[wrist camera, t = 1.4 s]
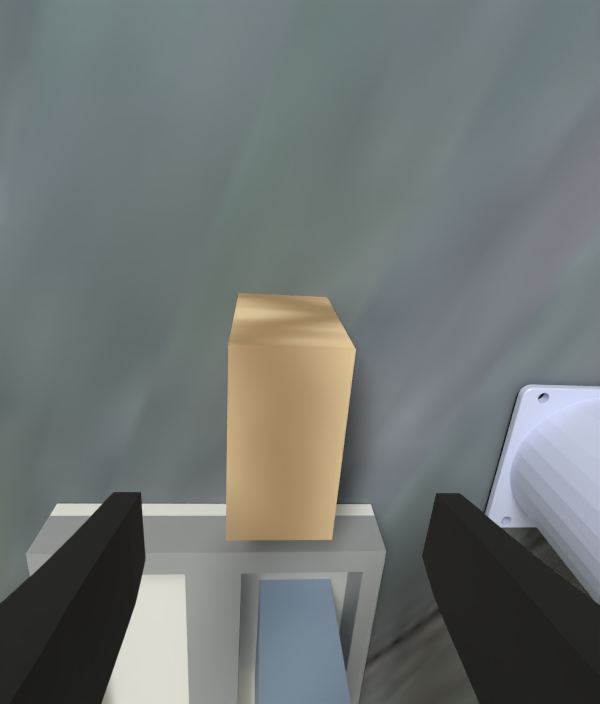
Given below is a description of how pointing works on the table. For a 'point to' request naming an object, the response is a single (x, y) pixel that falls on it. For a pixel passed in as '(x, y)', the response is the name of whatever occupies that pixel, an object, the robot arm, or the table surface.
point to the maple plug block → (285, 417)
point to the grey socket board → (223, 598)
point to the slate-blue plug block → (298, 644)
